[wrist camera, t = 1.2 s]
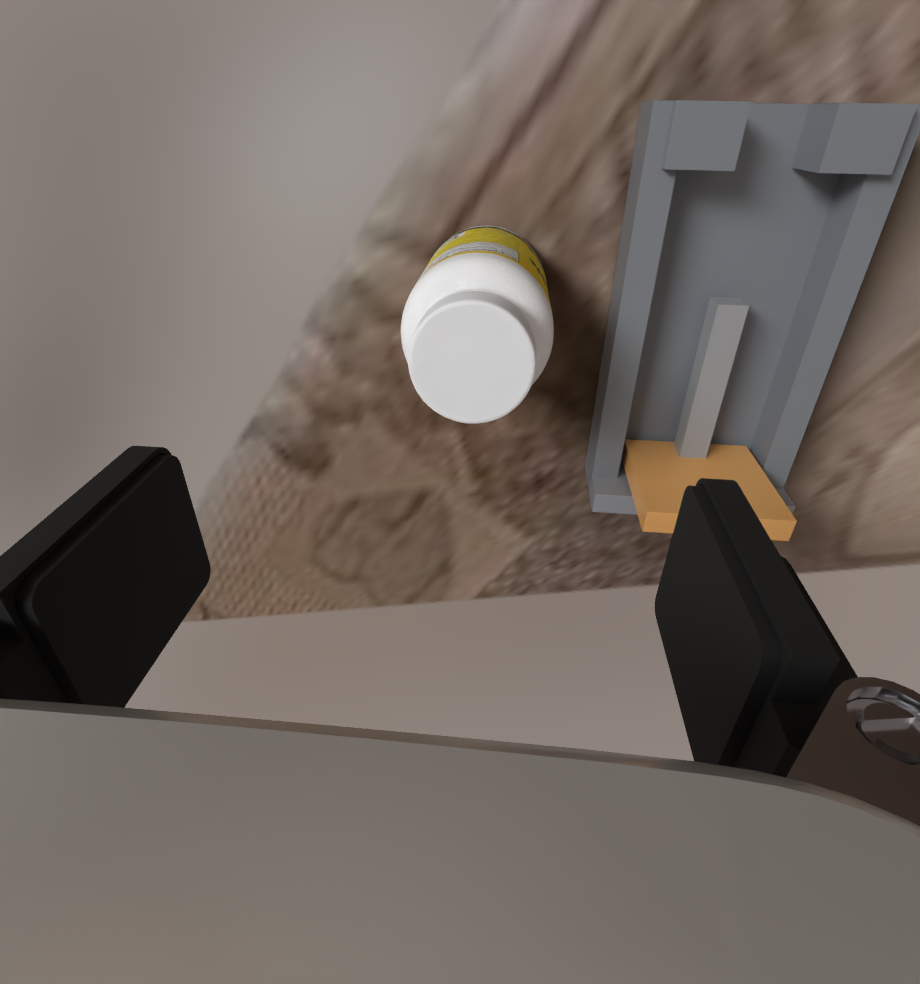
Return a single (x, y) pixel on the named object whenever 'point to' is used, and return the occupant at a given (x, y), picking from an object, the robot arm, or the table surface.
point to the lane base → (740, 268)
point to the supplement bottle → (478, 325)
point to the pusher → (703, 439)
